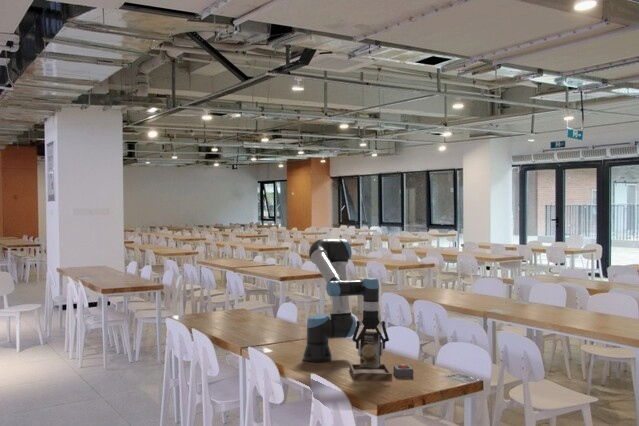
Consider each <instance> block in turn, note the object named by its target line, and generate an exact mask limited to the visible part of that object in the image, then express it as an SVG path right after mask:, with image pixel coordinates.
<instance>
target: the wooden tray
mask: <svg viewBox="0 0 639 426" xmlns="http://www.w3.org/2000/svg"><path fill="white" fill-rule="evenodd" d="M349 372H350V375H351V376H352V380H353V381H392V380H393V373H392V371H391V370H390V369H389V367H388V366H387V364H386V363H380V366H379V367H378V368H373V367H363V366H360V363H350V364H349Z"/></svg>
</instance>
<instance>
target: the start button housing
mask: <svg viewBox="0 0 639 426" xmlns="http://www.w3.org/2000/svg"><path fill="white" fill-rule="evenodd" d="M407 365H408V368H399V364H393V374H394V376H395V377H396V378H399V379H401V377H402V378H404V379H405V378H409V379H410V377H413V378H414V368H413V367H412V365H410V364H407Z"/></svg>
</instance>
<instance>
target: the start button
mask: <svg viewBox="0 0 639 426" xmlns="http://www.w3.org/2000/svg"><path fill="white" fill-rule="evenodd" d="M398 365H399V368H408V365H409V364H406V363H399V364H398Z"/></svg>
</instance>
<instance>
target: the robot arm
mask: <svg viewBox="0 0 639 426" xmlns="http://www.w3.org/2000/svg"><path fill="white" fill-rule="evenodd" d="M352 254H353V253H352V247H351V244H350V243H349V241H348V240H347V239H343V238H342V239H341V238H327V239H326V238H325V239H324V238H321V239H317V240H316V241H314V242H313V243H312V244H311V246H310V247H309V250H308V257H309V259H310V261H311V263H313V264H314V265H315V266H316V268H317V269H318V271H319V272H320V274H321V276H322V277H323V279H324V281H325V282H326V285H325V291H326V294H327V295H328V297H331V302H332V304H331V305H332V311H331V312H330V313H329V314H325V313H320V314H315V315H311V316H309V317H308V318H307V322H306V346H305V348H304V352H303V355H302V356H303V361H305V362H311V363H327V362H330V361H332V359H333V358H332V353H331V349H330V345H329V340H330V339H331V340H332V339H346V338H351V339H352V342H355V349H356V350H357V356H358V357H360V339H361V333H365V331H367V330H375V332H377V333H380V338H381V356H380V357H384V350H385V349H386V342H390V339H389V336H388V333H387V329H386V322H385V321H384V320H380V319H379V301H380V300H379V296H380V293H379V292H380V291H379V289H380V285H379V283H380V282H379V278H377V277H365V278H363V279H355V280H352V279H351V280H347V270H346V269H347V267H346V266H347V265H348V264H349V261H350V260H351V259H352ZM351 296H353V297H354V296H361V297H362V309H363V310H362V320H356V318H355V316H354V315H352V311H350V310H349V299H348V297H351ZM379 324H380V326H381V328H382V332H383V335H384V337H383V335H382V333H381V332H380V329H379V328H378V326H379ZM362 325H363V327H362V329H361V331H360V333H359V329H360V326H362ZM358 333H359V335H358Z"/></svg>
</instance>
